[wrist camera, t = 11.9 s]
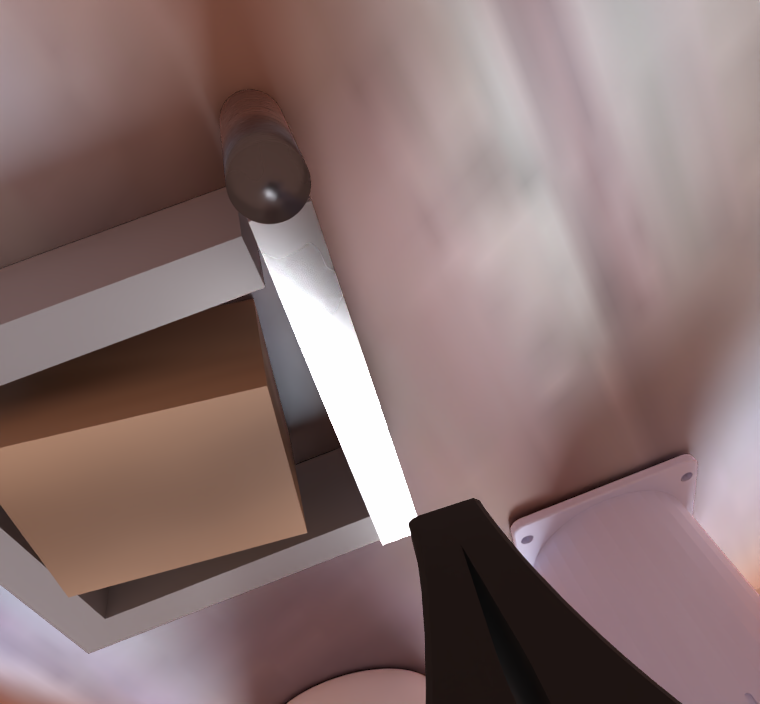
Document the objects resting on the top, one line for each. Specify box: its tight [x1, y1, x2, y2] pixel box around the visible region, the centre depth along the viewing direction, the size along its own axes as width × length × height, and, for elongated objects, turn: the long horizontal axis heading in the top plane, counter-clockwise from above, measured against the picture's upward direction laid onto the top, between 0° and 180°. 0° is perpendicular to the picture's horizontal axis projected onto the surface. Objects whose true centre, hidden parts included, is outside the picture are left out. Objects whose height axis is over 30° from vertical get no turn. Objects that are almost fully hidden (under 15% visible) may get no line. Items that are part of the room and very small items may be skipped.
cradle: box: [0, 187, 380, 654], centre depth 16 cm, size 10×9×3 cm
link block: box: [0, 298, 307, 598], centre depth 15 cm, size 5×6×4 cm
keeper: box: [219, 90, 417, 545], centre depth 15 cm, size 12×1×4 cm, turn 14°
